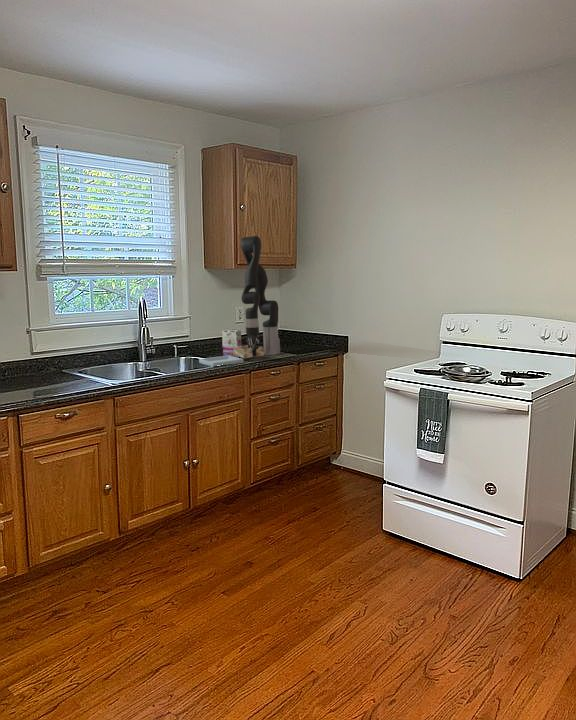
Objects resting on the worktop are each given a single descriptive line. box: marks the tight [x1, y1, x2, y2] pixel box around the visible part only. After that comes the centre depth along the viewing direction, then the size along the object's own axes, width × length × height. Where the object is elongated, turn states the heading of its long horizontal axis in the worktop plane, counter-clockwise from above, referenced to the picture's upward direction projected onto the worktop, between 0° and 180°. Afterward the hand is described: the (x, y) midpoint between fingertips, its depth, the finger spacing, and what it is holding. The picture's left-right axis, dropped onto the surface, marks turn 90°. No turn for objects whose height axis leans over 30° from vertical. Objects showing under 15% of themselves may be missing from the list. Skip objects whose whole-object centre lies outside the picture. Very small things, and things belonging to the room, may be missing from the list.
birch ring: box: [234, 344, 265, 359], centre depth 358 cm, size 14×13×5 cm
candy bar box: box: [221, 329, 243, 358], centre depth 369 cm, size 11×5×16 cm, turn 62°
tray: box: [198, 355, 245, 367], centre depth 349 cm, size 19×19×2 cm
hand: (253, 355), depth 354 cm, fingers closed on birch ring, 1 cm apart
